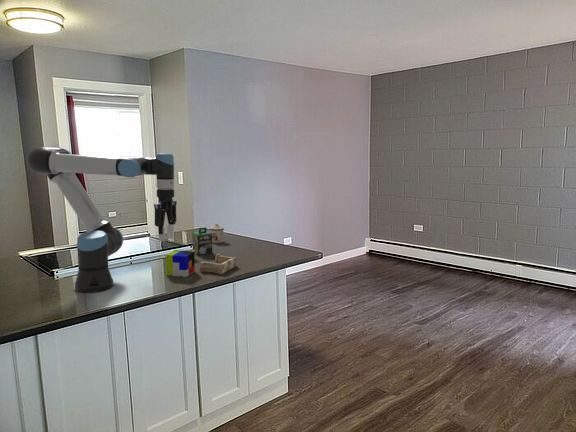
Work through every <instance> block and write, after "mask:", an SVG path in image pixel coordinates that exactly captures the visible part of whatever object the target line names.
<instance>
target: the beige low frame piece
mask: <svg viewBox="0 0 576 432" xmlns="http://www.w3.org/2000/svg"><path fill="white" fill-rule="evenodd" d="M191 251H193V252H195V260H197V259H196V258H197V254H196V251H195V250H193V249H192V250H191ZM214 256H215V262H210V261H205V260H204V261H203V260H202V261H201V262H199V272H200V273H203V272H206V273H212V272H213V274H220V275H222V274H224V273H226V272H228V271H229V270H232V269H233V268H235V267H237V257H233V256H227V255H226V256H225V255H222V254H221V253H216V255H214Z"/></svg>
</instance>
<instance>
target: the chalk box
mask: <svg viewBox="0 0 576 432" xmlns="http://www.w3.org/2000/svg"><path fill="white" fill-rule="evenodd" d="M207 230H208V228H207V226H206V227H199V229H198V231H193V232H192V238H191V240H192V241H191V242H192V243H191V244H192V250H195V251H196V255H206V254H208V255H209V254H213V243H212V233H210V231H207Z"/></svg>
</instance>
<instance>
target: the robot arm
mask: <svg viewBox="0 0 576 432" xmlns="http://www.w3.org/2000/svg"><path fill="white" fill-rule="evenodd" d="M26 164H27V167H28V168H29V170H31V171H32V172H33V173H35V174H37V175H42V176H43V175H44V176H47V178H48V179H49V181H50V182H51V183H54V184H56V185H57V186H58V188H59V189H60V191H61V193H62V194H63V196H64V198H65V199H66V201H67V202H68V204H69V205H70V207H71V209H72V210H73V211H74V213H75V214H76V216H77V217H78V219H79V221H80V222H81V223H82V225H83V227H84V228H85V232H83V233H81V234H79V235H78V237H77V239H76V241H77V243H76V249H77V265H78V267H77V268H78V272H77V275H76V280H75V282H74V290H75V291H76V292H80V293H99V292H103V291H107V290H110V289H112V287H114V279H113V277H112V274H111V271H110V269H109V257H110V256H112V255H114V254H116V253H117V252H118V251H119V250H120V249H121V248H122V246H123V244H124V237H123V233H122V232H121V231H120V229H118V228H116V227H114V226H113V225H112V223H111V222H110V221H109V220H105V219H104V217H103V215H102V214H101V213H100V211H99V209H98V208H97V206H96V204H95V203H94V202H93V200H92V198H91V197H90V195H89V193H88V191H86V189H85V188H84V186H83V184H82V183H81V181H80V180H79V178H78V176H77V174H85V175H98V176H99V175H101V176H102V175H103V176H118V177H125V178H135V177H138V176H145V175H147V176H149V175H150V176H151V175H152V176H156V197H157V198H158V201H157V203H154V204H153V207H154V226H156V227H157V228H158V231H157V232H158V241H159V242H166V239H171V240H172V239H174V225H176V223H177V204H178V203H177V200H173V198H175V189H174V188H175V162H174V155H173V153H159V152H158V153H156V154H155V157H143V156H141V157H140V156H133V157H113V156H102V155H101V156H99V155H89V154H88V155H84V154H72V153H71V152H70V151H69V150H68V149H67V148H64V147H61V146H56V145H55V146H39V147H35V148H33V149H31V150H30V151H29V152H28V154H27V156H26ZM165 219H167V224H166V226H165ZM166 237H167V238H166Z"/></svg>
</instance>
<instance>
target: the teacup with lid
mask: <svg viewBox="0 0 576 432" xmlns="http://www.w3.org/2000/svg"><path fill="white" fill-rule="evenodd" d="M224 230H225V229H224V227H223V226H221V225H219V224H218V223H215V224H214V225H213V226H210V227H209V232H210V233H212V244H221V243H223V242H224V240H225V239H226V237H227V233H226V232H225V231H224Z"/></svg>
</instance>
